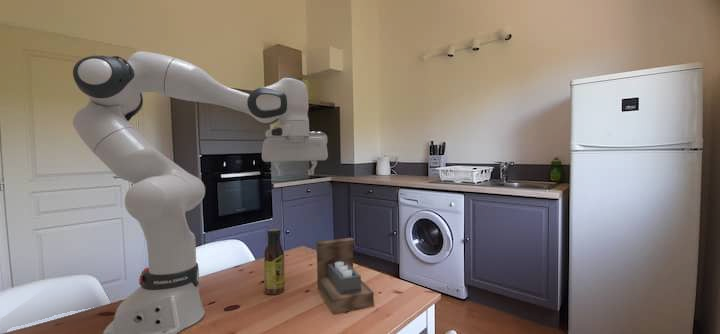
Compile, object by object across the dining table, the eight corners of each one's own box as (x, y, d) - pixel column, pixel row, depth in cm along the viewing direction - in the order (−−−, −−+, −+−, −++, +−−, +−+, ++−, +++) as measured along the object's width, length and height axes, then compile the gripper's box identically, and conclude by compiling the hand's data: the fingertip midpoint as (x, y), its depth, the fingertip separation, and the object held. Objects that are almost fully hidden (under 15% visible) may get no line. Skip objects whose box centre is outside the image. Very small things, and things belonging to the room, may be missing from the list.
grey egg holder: (341, 295, 91) (340, 276, 91) (327, 277, 104) (327, 261, 104) (361, 291, 93) (360, 272, 93) (345, 274, 106) (345, 258, 106)
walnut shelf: (333, 314, 89) (332, 258, 88) (317, 289, 105) (316, 241, 105) (373, 306, 93) (372, 252, 92) (352, 283, 110) (351, 237, 109)
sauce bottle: (279, 296, 101) (277, 232, 100) (261, 294, 102) (259, 232, 101) (288, 287, 107) (286, 227, 106) (270, 286, 108) (269, 227, 107)
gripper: (324, 132, 108) (325, 173, 108) (260, 131, 100) (261, 176, 101) (329, 130, 102) (330, 174, 103) (262, 130, 95) (263, 177, 95)
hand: (296, 175), depth 102 cm, fingers open, 8 cm apart
